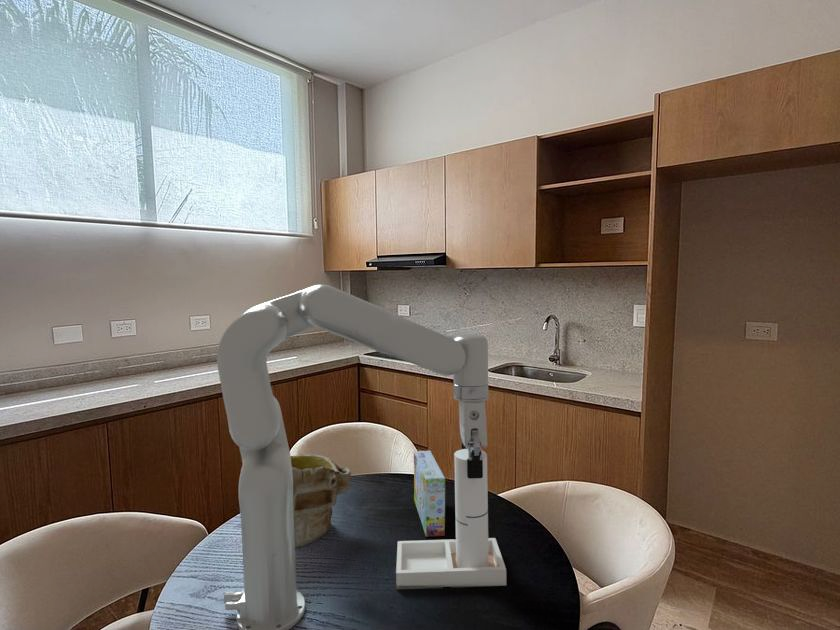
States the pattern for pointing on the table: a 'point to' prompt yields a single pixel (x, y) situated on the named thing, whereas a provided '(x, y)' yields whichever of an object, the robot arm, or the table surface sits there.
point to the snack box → (429, 493)
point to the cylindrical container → (471, 514)
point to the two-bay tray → (444, 566)
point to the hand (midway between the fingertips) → (471, 468)
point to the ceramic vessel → (315, 495)
